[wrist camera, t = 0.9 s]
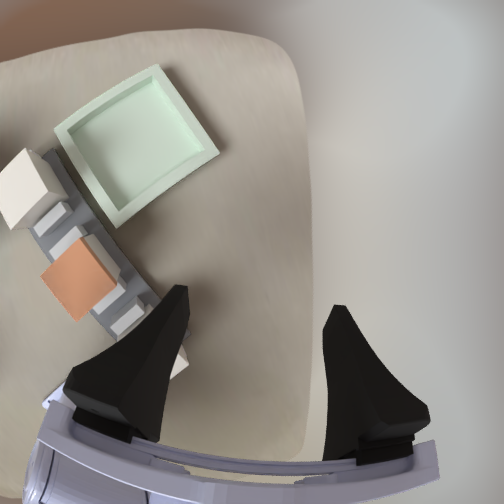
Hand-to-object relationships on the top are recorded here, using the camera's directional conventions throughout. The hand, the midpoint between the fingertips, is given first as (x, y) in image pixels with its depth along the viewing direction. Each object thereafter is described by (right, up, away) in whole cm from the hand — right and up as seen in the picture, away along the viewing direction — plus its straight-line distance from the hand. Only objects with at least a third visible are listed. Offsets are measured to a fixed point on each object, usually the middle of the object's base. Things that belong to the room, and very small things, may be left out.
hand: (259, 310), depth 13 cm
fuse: (-19, +8, +5) cm, 21 cm away
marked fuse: (-14, +2, +7) cm, 16 cm away
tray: (-11, +13, +8) cm, 19 cm away
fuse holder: (-15, +2, +8) cm, 17 cm away
